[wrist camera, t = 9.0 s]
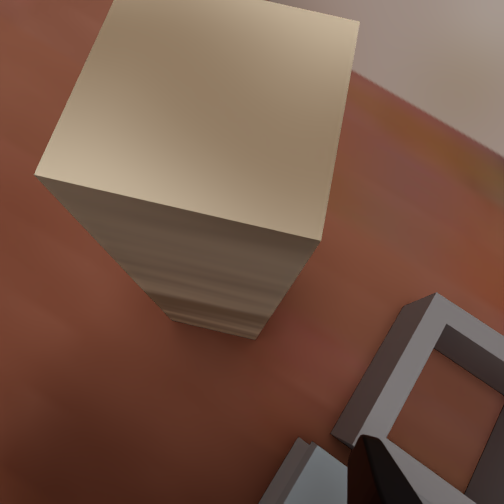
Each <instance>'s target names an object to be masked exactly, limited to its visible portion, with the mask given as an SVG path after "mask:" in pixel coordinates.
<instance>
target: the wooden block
mask: <svg viewBox="0 0 504 504" xmlns="http://www.w3.org/2000/svg"><path fill="white" fill-rule="evenodd" d="M359 24H360V22H359V21H354V20H350V19H345V18H341V17H336V16H331V15H327V14H323V13H318V12H314V11H309V10H305V9H300V8H296V7H291V6H287V5H282V4H277V3H273V2H269V1H264V0H114V1H113V4H112V6H111V8H110V10H109V12H108V14H107V17H106V19H105V21H104V23H103V25H102V28H101V30H100V32H99V34H98V36H97V38H96V41H95V43H94V45H93V47H92V49H91V52H90V54H89V56H88V58H87V60H86V62H85V65H84V67H83V69H82V71H81V73H80V75H79V78H78V80H77V82H76V84H75V86H74V89H73V91H72V93H71V95H70V97H69V99H68V102H67V104H66V106H65V108H64V110H63V113H62V115H61V117H60V119H59V121H58V123H57V126H56V128H55V130H54V132H53V134H52V137H51V139H50V141H49V143H48V145H47V147H46V150H45V152H44V154H43V156H42V158H41V161H40V163H39V165H38V167H37V169H36V171H35V174H34V175H35V176H36V177H37V178H38V179H39V181H40V182H41V183H42V184H43V185H44V186H45V187H46V188H47V189H48V190H49V191H50V192H51V193H52V194H53V195H54V196H55V197H56V198H57V200H58V201H59V202H60V203H61V204H62V205H63V206H64V207H65V208H66V209H67V210H68V211H69V212H70V213H71V214H72V215H73V216H74V218H75V219H76V220H77V221H78V222H79V223H80V224H81V225H82V226H83V227H84V228H85V229H86V230H87V231H88V232H89V233H90V234H91V236H92V237H93V238H94V239H95V240H96V241H97V242H98V243H99V244H100V245H101V246H102V247H103V248H104V249H105V250H106V251H107V252H108V253H109V255H110V256H111V257H112V258H113V259H114V260H115V261H116V262H117V263H118V264H119V265H120V266H121V267H122V268H123V269H124V270H125V271H126V273H127V274H128V275H129V276H130V277H131V278H132V279H133V280H134V281H135V282H136V283H137V284H138V285H139V286H140V287H141V288H142V289H143V290H144V292H145V293H146V294H147V295H148V296H149V297H150V298H151V299H152V300H153V301H154V302H155V303H156V304H157V305H158V306H159V307H160V308H161V310H162V311H163V312H164V313H165V314H166V315H167V316H168V317H169V318H170V319H171V320H172V321H177V322H181V323H185V324H189V325H194V326H198V327H202V328H206V329H211V330H215V331H219V332H223V333H228V334H232V335H236V336H240V337H245V338H249V339H253V340H256V338H257V336H258V335H259V333H260V332H261V330H262V329H263V327H264V326H265V324H266V323H267V321H268V320H269V318H270V317H271V315H272V314H273V312H274V311H275V309H276V308H277V306H278V305H279V303H280V302H281V300H282V299H283V297H284V296H285V294H286V293H287V291H288V290H289V288H290V287H291V285H292V284H293V282H294V281H295V279H296V278H297V276H298V275H299V273H300V272H301V270H302V269H303V267H304V266H305V264H306V263H307V261H308V260H309V258H310V257H311V255H312V254H313V252H314V251H315V249H316V248H317V246H318V245H319V243H320V241H321V238H322V232H323V227H324V221H325V215H326V210H327V204H328V198H329V193H330V187H331V182H332V176H333V170H334V165H335V159H336V154H337V148H338V142H339V137H340V131H341V126H342V120H343V114H344V109H345V103H346V97H347V92H348V86H349V81H350V75H351V69H352V64H353V58H354V52H355V47H356V41H357V36H358V30H359Z"/></svg>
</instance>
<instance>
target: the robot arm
mask: <svg viewBox="0 0 504 504" xmlns="http://www.w3.org/2000/svg"><path fill="white" fill-rule="evenodd" d="M347 504H423V503H422V501H421V500H420V498H419V497H418V495H417V494H416V492H415V490H414V489H413V487H412V486H411V484H410V483H409V481H408V480H407V478H406V477H405V475H404V474H403V472H402V471H401V469H400V468H399V466H398V465H397V463H396V462H395V460H394V459H393V457H392V456H391V454H390V453H389V451H388V450H387V448H386V447H385V445H384V444H383V442H382V441H381V440H380V439H379V438H377V437H373V436H369V435H365V434H362V435H360V436H359V438H358V440H357V442H356V444H355V446H354V448H353V450H352V452H351V454H350V456H349V460H348V466H347Z"/></svg>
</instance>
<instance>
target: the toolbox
mask: <svg viewBox="0 0 504 504" xmlns="http://www.w3.org/2000/svg"><path fill="white" fill-rule="evenodd" d="M433 348H435V349H436V350H438V351H439V352H441V353H442V354H444V355H445V356H447V357H448V358H450V359H451V360H453V361H454V362H455V363H457V364H458V365H460V366H461V367H463V368H464V369H466V370H467V371H469V372H470V373H472V374H473V375H475V376H476V377H478V378H479V379H481V380H482V381H484V382H485V383H486V384H488V385H489V386H491V387H492V388H494V389H495V390H497V391H498V392H500V393H501V394H503V395H504V336H502V335H501V334H499V333H498V332H496V331H495V330H493V329H492V328H490V327H489V326H487V325H486V324H484V323H483V322H481V321H480V320H478V319H476V318H475V317H473V316H472V315H470V314H469V313H467V312H466V311H464V310H463V309H461V308H460V307H458V306H457V305H455V304H454V303H452V302H450V301H449V300H447V299H446V298H444V297H443V296H441V295H440V294H438V293H437V292H436V293H434V294H431V295H429V296H427V297H424V298H422V299H420V300H417V301H415V302H412V303H410V304H408V305H405V306H403V308H402V310H401V312H400V313H399V315H398V317H397V319H396V320H395V322H394V324H393V325H392V327H391V329H390V331H389V332H388V334H387V336H386V338H385V339H384V341H383V343H382V345H381V346H380V348H379V350H378V352H377V353H376V355H375V357H374V359H373V360H372V362H371V364H370V365H369V367H368V369H367V371H366V372H365V374H364V376H363V378H362V379H361V381H360V383H359V385H358V386H357V388H356V390H355V392H354V393H353V395H352V397H351V399H350V400H349V402H348V404H347V405H346V407H345V409H344V411H343V412H342V414H341V416H340V418H339V419H338V421H337V423H336V425H335V426H334V428H333V430H332V432H331V433H330V434H332V435H333V436H334V437H336V438H337V439H338V440H340V441H341V442H342V443H344V444H345V445H347V446H348V447H349V448H351V449H352V450H353V448H354V446H355V444H356V442H357V440H358V438H359V436H360V435H362V434H365V435H369V436H373V437H377V438H379V439H380V440H381V441H382V442H383V444H384V445H385V447H386V448H387V450H388V451H389V453H390V454H391V456H392V457H393V459H394V460H395V462H396V463H397V465H398V466H399V468H400V469H401V471H402V472H403V474H404V475H405V477H406V478H407V480H408V481H409V483H410V484H411V486H412V487H413V489H414V490H415V492H416V494H417V495H418V497H419V498H420V500H421V501H422V503H423V504H504V407H503V409H502V411H501V413H500V416H499V418H498V420H497V422H496V425H495V427H494V429H493V431H492V434H491V436H490V438H489V440H488V443H487V445H486V447H485V449H484V452H483V454H482V456H481V458H480V461H479V463H478V465H477V467H476V470H475V472H474V474H473V476H472V479H471V481H470V483H469V485H468V488H467V490H466V492H465V494H463V493H461V492H460V491H458V490H457V489H456V488H454V487H453V486H452V485H450V484H449V483H447V482H446V481H445V480H443V479H442V478H440V477H439V476H438V475H436V474H435V473H434V472H432V471H431V470H429V469H428V468H427V467H425V466H424V465H423V464H421V463H420V462H418V461H417V460H416V459H414V458H413V457H412V456H410V455H409V454H407V453H406V452H405V451H403V450H402V449H401V448H399V447H398V446H396V445H395V444H394V443H392V442H391V441H390V440H388V439H387V438H386V437H387V435H388V433H389V431H390V429H391V428H392V426H393V424H394V422H395V420H396V418H397V416H398V414H399V412H400V411H401V409H402V407H403V405H404V403H405V401H406V399H407V397H408V395H409V393H410V392H411V390H412V388H413V386H414V384H415V382H416V380H417V378H418V376H419V375H420V373H421V371H422V369H423V367H424V365H425V363H426V361H427V359H428V357H429V356H430V354H431V352H432V350H433ZM258 504H347V467H346V466H345V465H343V464H342V463H341V462H339V461H338V460H337V459H335V458H334V457H333V456H331V455H330V454H329V453H327V452H326V451H325V450H323V449H322V448H321V447H319V446H318V445H317V444H315V443H314V442H313V441H312V442H311V444H310V445H309V444H307V443H306V442H305V441H303V440H302V439H301V438H299V437H298V438H297V440H296V441H295V443H294V445H293V446H292V448H291V450H290V451H289V453H288V455H287V456H286V458H285V460H284V461H283V463H282V465H281V466H280V468H279V470H278V472H277V473H276V475H275V477H274V478H273V480H272V482H271V483H270V485H269V487H268V488H267V490H266V492H265V493H264V495H263V497H262V498H261V500H260V502H259V503H258Z"/></svg>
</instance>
